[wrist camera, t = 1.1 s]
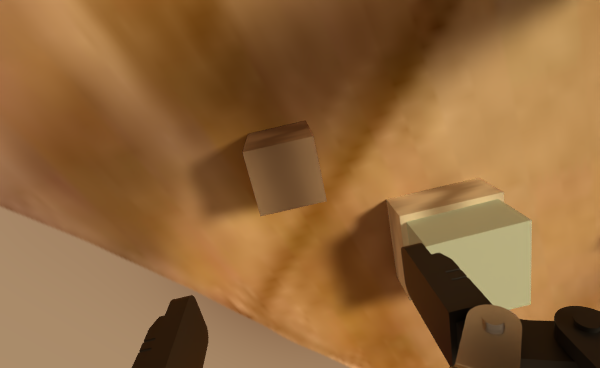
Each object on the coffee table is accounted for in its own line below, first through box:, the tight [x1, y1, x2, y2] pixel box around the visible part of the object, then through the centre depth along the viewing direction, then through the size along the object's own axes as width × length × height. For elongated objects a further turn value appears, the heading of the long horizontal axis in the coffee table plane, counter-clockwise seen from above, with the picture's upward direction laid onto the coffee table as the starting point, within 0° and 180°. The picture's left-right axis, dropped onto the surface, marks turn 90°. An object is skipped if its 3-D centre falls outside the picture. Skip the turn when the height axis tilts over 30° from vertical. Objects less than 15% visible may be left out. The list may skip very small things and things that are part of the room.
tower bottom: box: [386, 178, 504, 300], centre depth 32 cm, size 9×9×4 cm
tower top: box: [406, 199, 532, 310], centre depth 29 cm, size 8×8×4 cm
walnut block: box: [242, 121, 327, 216], centre depth 27 cm, size 5×5×6 cm
